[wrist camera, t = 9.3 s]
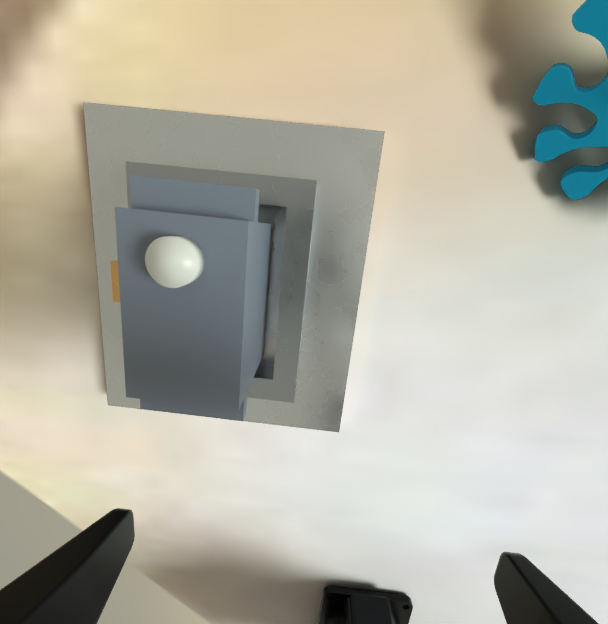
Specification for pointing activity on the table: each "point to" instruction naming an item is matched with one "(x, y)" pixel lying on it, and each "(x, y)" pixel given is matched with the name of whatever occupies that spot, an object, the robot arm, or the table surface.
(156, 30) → the table surface
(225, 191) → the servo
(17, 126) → the table surface
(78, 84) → the table surface
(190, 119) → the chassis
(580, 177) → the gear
